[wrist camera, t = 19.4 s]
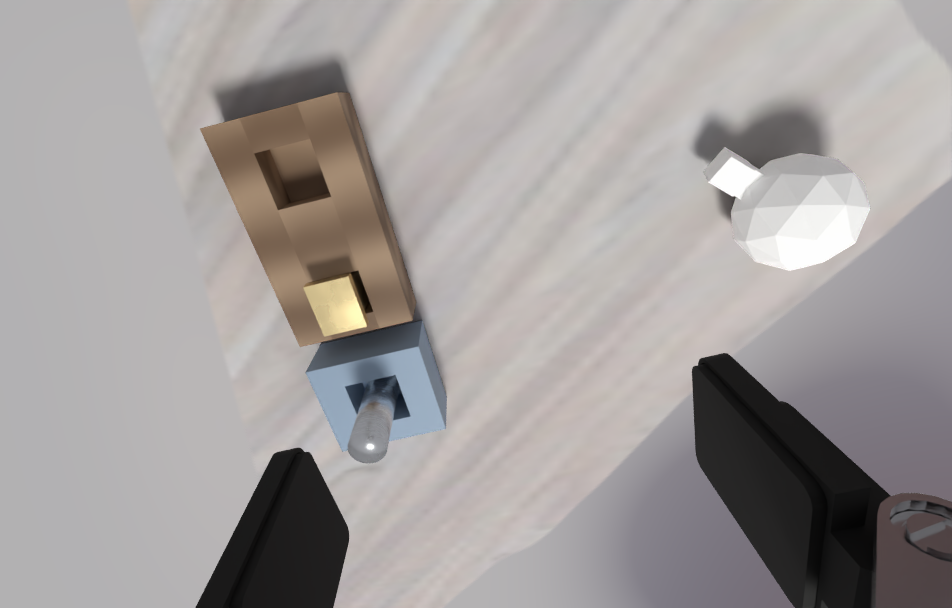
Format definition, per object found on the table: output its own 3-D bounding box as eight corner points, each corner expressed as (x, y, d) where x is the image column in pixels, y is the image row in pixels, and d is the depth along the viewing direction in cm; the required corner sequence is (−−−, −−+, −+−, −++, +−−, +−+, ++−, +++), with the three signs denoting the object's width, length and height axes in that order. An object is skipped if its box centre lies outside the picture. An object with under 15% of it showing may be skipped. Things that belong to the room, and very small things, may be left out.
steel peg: (365, 368, 44) (342, 436, 35) (396, 362, 44) (380, 428, 34) (374, 394, 45) (354, 466, 36) (404, 387, 45) (391, 459, 36)
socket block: (225, 125, 35) (199, 128, 32) (349, 93, 35) (337, 92, 31) (313, 325, 43) (300, 347, 39) (416, 301, 42) (412, 320, 39)
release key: (319, 266, 39) (303, 287, 35) (359, 256, 39) (348, 276, 35) (338, 311, 41) (324, 336, 37) (376, 302, 41) (367, 326, 36)
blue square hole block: (321, 344, 44) (305, 372, 39) (422, 320, 43) (418, 346, 39) (353, 417, 47) (342, 451, 43) (446, 396, 47) (445, 428, 42)
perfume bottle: (866, 173, 37) (747, 98, 36) (929, 224, 30) (783, 132, 29) (777, 251, 43) (671, 188, 41) (813, 310, 36) (685, 236, 34)
